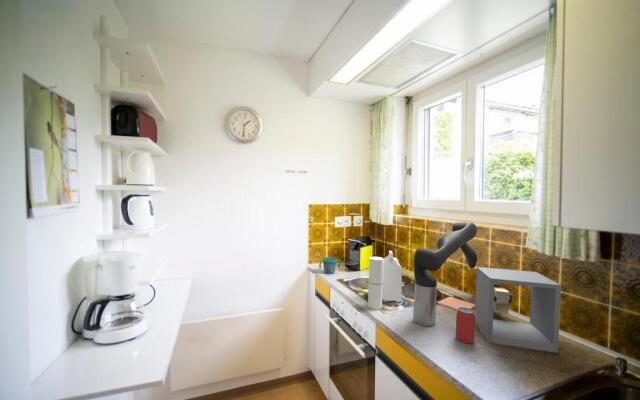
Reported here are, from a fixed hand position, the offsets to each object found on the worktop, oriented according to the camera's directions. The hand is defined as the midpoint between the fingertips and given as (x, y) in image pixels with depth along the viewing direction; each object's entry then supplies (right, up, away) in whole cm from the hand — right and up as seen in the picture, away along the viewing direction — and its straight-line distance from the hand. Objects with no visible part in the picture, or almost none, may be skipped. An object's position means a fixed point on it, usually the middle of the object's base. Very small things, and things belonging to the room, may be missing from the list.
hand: (502, 300), depth 120 cm
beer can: (-25, -11, -14) cm, 31 cm away
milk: (-44, -9, +28) cm, 53 cm away
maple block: (+1, -6, +3) cm, 7 cm away
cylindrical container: (-55, -9, +16) cm, 58 cm away
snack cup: (-76, -8, +73) cm, 106 cm away
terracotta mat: (-10, -10, +21) cm, 25 cm away
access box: (-3, -11, -11) cm, 16 cm away
